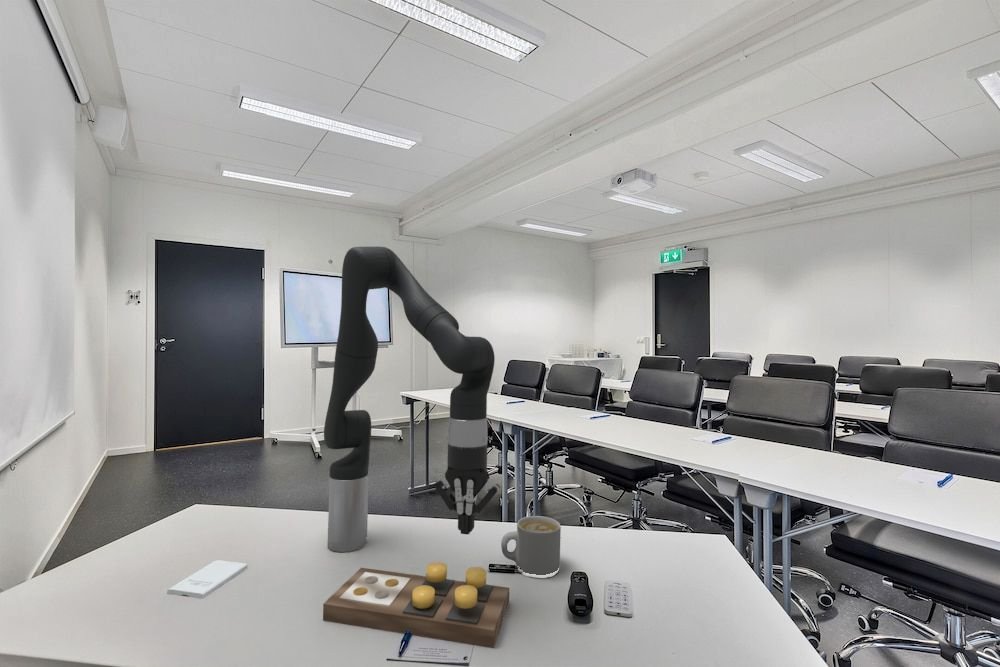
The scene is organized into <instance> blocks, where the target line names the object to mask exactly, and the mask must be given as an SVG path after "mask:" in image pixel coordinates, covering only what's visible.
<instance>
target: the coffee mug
mask: <svg viewBox="0 0 1000 667" xmlns="http://www.w3.org/2000/svg"><path fill="white" fill-rule="evenodd" d="M561 528H562V526H561V523H560V522H559V521H557V520H556V519H554V518H551V517H548V516H541V515H531V516H530V515H529V516H525V517H521V518H520V519H519V520H518V521H517V523H516V529H517V530H515V531H509V532H506V533H504V535H503V536H502V539H501V545H500V546H501V547H500V548H501V552H502V554H503V556H504V558H506V559H508V560H511V561H513V562H514V563H515V564H516V565H517V566H519V567H520V568H521V569H522V570H523V572H525V573H529V574H536V575H546V574H550V573H553V572H555V571H557V570H558V568H559V566H560V565H561V564H560V563H561V562H560V561H561V560H560V559H561V531H562V530H561ZM511 540H514V541H515V548H514V550H513V551H509V550H508V543H509V542H510V541H511ZM516 565H515V566H516Z"/></svg>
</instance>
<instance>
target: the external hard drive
mask: <svg viewBox="0 0 1000 667" xmlns="http://www.w3.org/2000/svg"><path fill="white" fill-rule="evenodd" d="M247 569H248V564H247V563H245V562H235V561H228V560H220V559H216V560H213V561H212V562H211V563H208V565H206V566H204V567H202V568H200V569H199V570H197V571H196V572H194V573H192V574H191V575H189V576H188V577H186V578H184V579H183V580H181V581H180V582H178V583H176V584H174V585H173V586H171V587H169V588H168V589H167V590H166V593H167V594H169V595H176V596H187V597H189V598H196V599H204V598H206V597H208V595H211V593H213V592H214V591H216V590H218V589H219V588H220V587H222V586H223V585H225V584H226V583H229V581H231V580H232V579H234V578H235V577H237V576H238V575H240V574H241V573H243V572H244V571H246V570H247Z"/></svg>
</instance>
